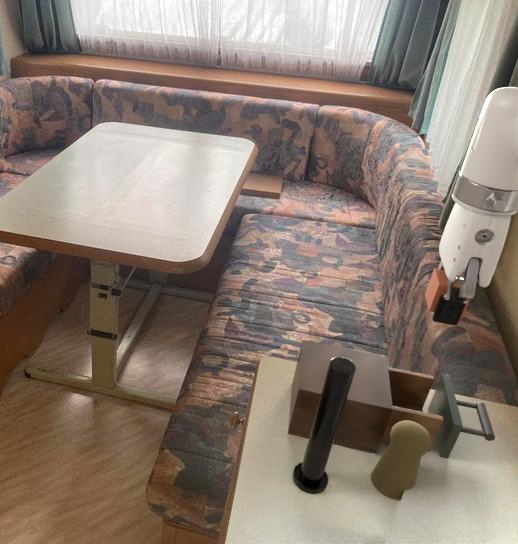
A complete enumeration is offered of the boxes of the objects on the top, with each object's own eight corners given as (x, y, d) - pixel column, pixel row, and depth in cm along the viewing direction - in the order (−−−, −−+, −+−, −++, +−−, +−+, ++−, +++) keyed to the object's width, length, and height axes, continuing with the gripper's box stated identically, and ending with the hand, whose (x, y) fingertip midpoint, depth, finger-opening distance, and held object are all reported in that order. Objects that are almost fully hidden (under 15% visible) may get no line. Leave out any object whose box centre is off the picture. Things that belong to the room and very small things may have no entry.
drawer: (471, 418, 95) (488, 383, 91) (486, 472, 86) (506, 435, 82) (358, 394, 99) (369, 359, 95) (360, 443, 89) (373, 407, 85)
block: (457, 300, 82) (467, 274, 80) (463, 317, 78) (474, 290, 76) (424, 294, 83) (434, 268, 80) (428, 311, 79) (438, 284, 77)
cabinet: (372, 399, 99) (386, 356, 94) (376, 454, 89) (393, 409, 84) (292, 382, 102) (302, 339, 97) (287, 433, 91) (298, 389, 86)
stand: (332, 477, 85) (368, 362, 73) (319, 500, 81) (356, 384, 70) (300, 460, 87) (331, 347, 76) (286, 482, 84) (316, 366, 72)
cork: (375, 497, 82) (396, 444, 76) (367, 463, 87) (386, 411, 81) (418, 503, 82) (443, 449, 76) (407, 468, 87) (430, 416, 81)
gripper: (540, 227, 64) (482, 354, 73) (504, 172, 78) (458, 285, 87) (468, 216, 65) (420, 342, 75) (445, 164, 79) (407, 276, 89)
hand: (441, 310), depth 81 cm, fingers closed on block, 4 cm apart
